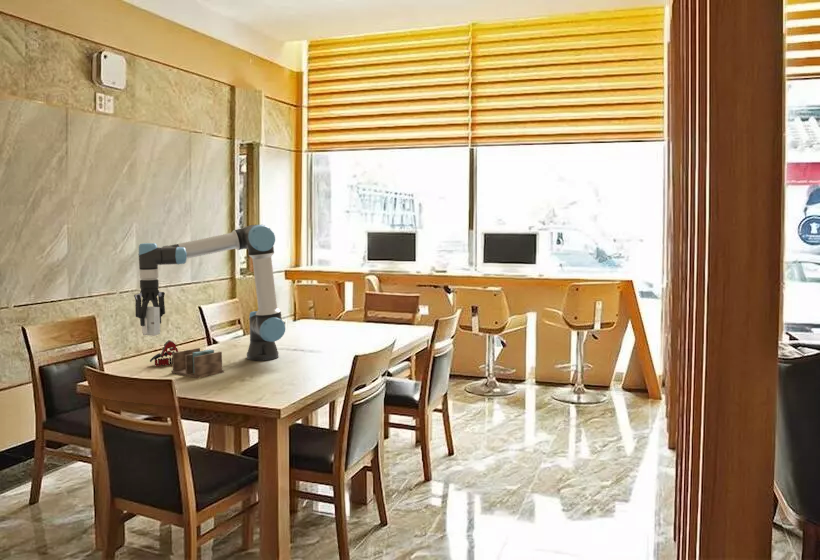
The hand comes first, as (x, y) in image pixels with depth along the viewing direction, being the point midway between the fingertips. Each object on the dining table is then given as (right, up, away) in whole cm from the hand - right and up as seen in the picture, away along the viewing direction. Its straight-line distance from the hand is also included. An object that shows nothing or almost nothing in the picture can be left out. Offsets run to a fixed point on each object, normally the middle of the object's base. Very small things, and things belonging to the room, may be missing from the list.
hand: (151, 332), depth 307 cm
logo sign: (+1, -17, +23) cm, 29 cm away
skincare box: (0, -1, 0) cm, 1 cm away
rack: (+18, -18, +5) cm, 26 cm away
